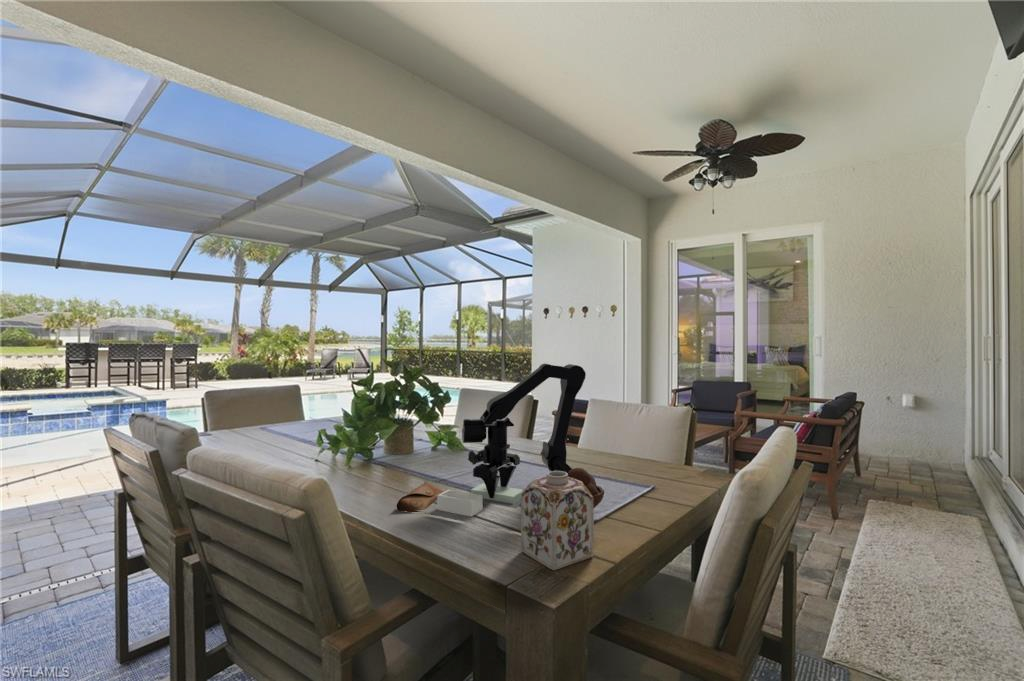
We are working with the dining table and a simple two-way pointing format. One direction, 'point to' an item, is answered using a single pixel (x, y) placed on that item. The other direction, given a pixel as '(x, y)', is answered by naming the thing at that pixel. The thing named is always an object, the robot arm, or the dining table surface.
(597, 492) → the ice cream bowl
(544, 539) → the decorative jar
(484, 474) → the robot arm
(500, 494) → the sage lid
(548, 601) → the dining table surface
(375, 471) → the dining table surface
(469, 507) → the white rectangular box
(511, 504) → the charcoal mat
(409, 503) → the sunglasses case
